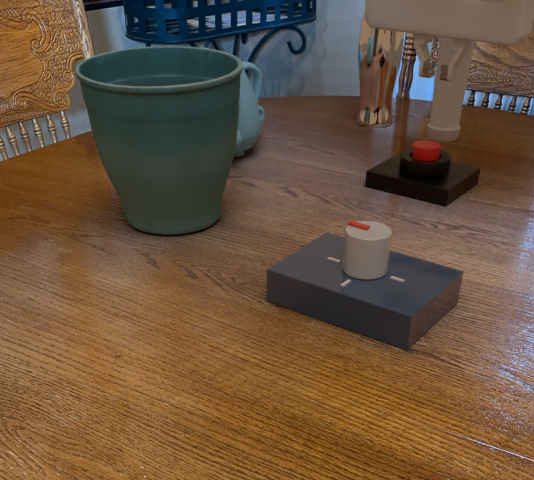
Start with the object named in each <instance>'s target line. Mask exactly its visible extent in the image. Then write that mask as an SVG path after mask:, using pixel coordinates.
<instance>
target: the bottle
mask: <svg viewBox="0 0 534 480" xmlns="http://www.w3.org/2000/svg"><path fill="white" fill-rule="evenodd" d="M453 40H454V39H453V38H445V37H439V43H438V53H437V59H436V60H437V64H436V67H435V70H436V71H435V75H434V85H433V94H432V100H431V101H432V102H431V108H430V117H429V122H428V123H427V126H426V138H427V139H428V140H429V141H435V142H438V143H450V142H456V141H457V140H458V138H459V136H460V132H461V125H460V122H461V116H462V111H463V106H464V100H465V95H466V91H467V85H468V81H469V80H468V79H469V75H470V68H471V63H472V58H473V53H474V47H475V43H476V41H471V47H470V49H469V50H468V52H467V53H466V55H465V56H464V58H463V59H462V60H461V62H460V63H459V64H458V70H457V77H456V79H455V80H454V81H452V82H450V81H444V80H440V74H441V64H443V63H446V62H450V60H451V59H452V57H453V55H454V54H455V52H456V51H457V49H456V50H454V49H453V48H452V47H453Z"/></svg>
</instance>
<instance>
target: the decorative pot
mask: <svg viewBox="0 0 534 480" xmlns="http://www.w3.org/2000/svg"><path fill="white" fill-rule="evenodd" d="M205 48H206V49H211V48H209V47H205ZM242 64H243V70H242V73H241V76H240V96H239V106H238V128H237V140H236V147H235V153H234V157H233V158H237V157H243V156H244V155H245V151H247V150H249V149H251V148H253V147H254V145H255V143H256V142H257V140H258V138H259V137H260V134H261V130H262V123H263V121H264V120H265V116H266V112H265V109H264V107H263V106H261V105H260V104H259V99H260V96H261V91H262V88H263V74H262V72H261V70H260V68H259V67H258V66H257V65H256V64H254V63H253V62H250V61H242ZM247 70H249V71H251V72H252V75H253V83H252V84H251V81H250V79H249V77H248V74H247V73H246V71H247Z"/></svg>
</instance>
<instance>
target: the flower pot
mask: <svg viewBox="0 0 534 480" xmlns="http://www.w3.org/2000/svg"><path fill="white" fill-rule="evenodd" d="M206 48H207V47H197V46H180V45H158V46H157V45H156V46H140V47H131V48H130V47H129V48H124V49H117V50H112V51H107V52H103V53H99V54H96V55H91V56H89V57H88V58H85V59H84V60H82V61H80V62H79V63H77V65H76V67H75V75H76V78H77V79H78V81H79V85H80V90H81V94H82V98H83V102H84V104H85V108H86V111H87V116H88V121H89V125H90V129H91V132H92V136H93V140H94V144H95V147H96V150H97V154H98V157H99V159H100V161H101V164H102V166H103V168H104V170H105V172H106V174H107V176H108V179H109V180H110V182H111V184H112V187H113V189H114V190H115V193H116V194H117V196H118V199H119V201H120V203H121V206H122V208H123V209H122V210H123V212H124V213H123V216H124V219H125V221H126V222H127V223H128V225H130V226H131V227H133V228H134V229H136V230H139V231H141V232H144V233H148V234H154V235H166V236H167V235H171V236H172V235H174V236H175V235H184V234H190V233H191V234H192V233H195V232H199V231H201V230H204V229H207V228H208V227H211V226H212V225H214V224H215V223H216V222H218V221H219V219H220V217H221V216H222V213H223V211H222V210H223V209H222V202H223V197H224V193H225V189H226V186H227V182H228V179H229V175H230V172H231V169H232V166H233V161H234V158H235V157H234V153H235V147H236V140H237V128H238V106H239V96H240V76H241V73H242V70H243V64H242V62H243V61H242V60H241V58H239V57H237V55H234V54H231V53H229V52H226V51H224V50H219V49H213V48H210V49H206Z"/></svg>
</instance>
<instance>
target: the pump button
mask: <svg viewBox="0 0 534 480" xmlns="http://www.w3.org/2000/svg"><path fill="white" fill-rule="evenodd" d="M412 148H413V151H412V158H414V159H417V160H422V161H434V160H438V159H439V157H440V150H442V144H441V142H438V141H433V140H430V139H425V140H417V141H415V142H413V144H412Z"/></svg>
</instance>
